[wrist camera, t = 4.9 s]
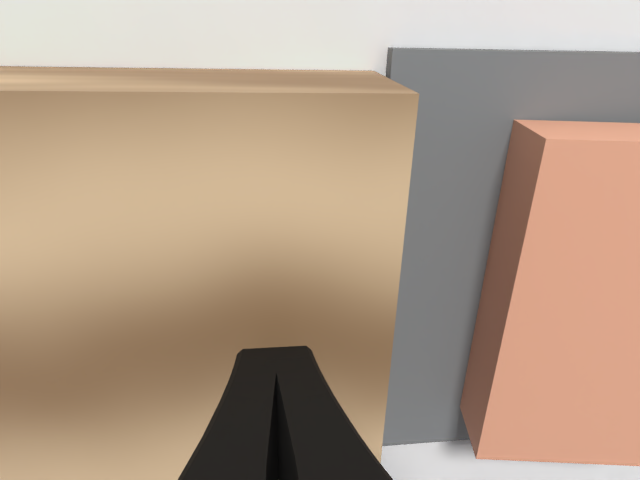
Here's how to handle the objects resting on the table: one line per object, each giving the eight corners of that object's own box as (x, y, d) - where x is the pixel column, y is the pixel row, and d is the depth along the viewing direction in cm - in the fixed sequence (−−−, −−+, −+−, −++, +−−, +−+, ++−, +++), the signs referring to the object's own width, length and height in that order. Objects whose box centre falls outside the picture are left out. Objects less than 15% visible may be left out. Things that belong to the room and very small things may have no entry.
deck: (350, 426, 16) (373, 530, 13) (-160, 463, 14) (-280, 593, 11) (373, 70, 11) (419, 94, 8) (-383, 62, 9) (-703, 85, 6)
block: (475, 459, 14) (459, 406, 15) (693, 468, 13) (651, 414, 15) (546, 138, 10) (513, 119, 12) (851, 147, 10) (770, 126, 11)
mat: (615, 418, 17) (640, 446, 16) (358, 438, 16) (365, 468, 15) (751, 54, 12) (800, 58, 11) (388, 47, 11) (403, 51, 10)
